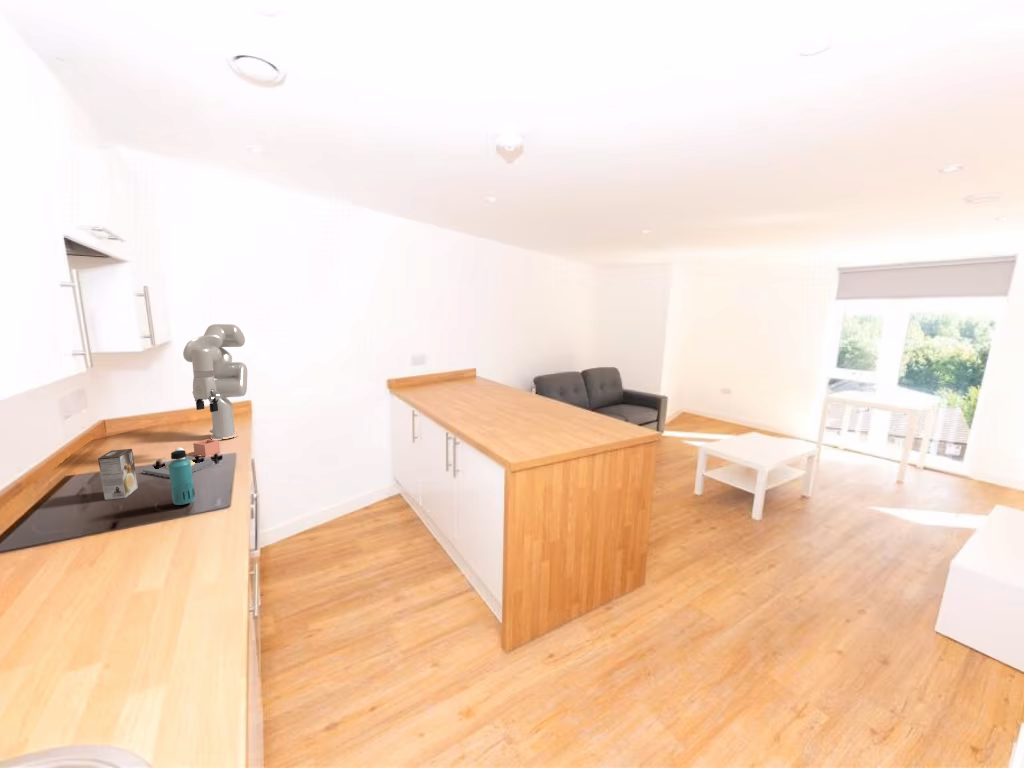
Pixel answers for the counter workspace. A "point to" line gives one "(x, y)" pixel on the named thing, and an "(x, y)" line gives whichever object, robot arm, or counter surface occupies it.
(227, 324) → the robot arm
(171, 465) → the beverage bottle
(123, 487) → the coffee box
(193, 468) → the post board
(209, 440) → the collar
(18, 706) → the counter surface
